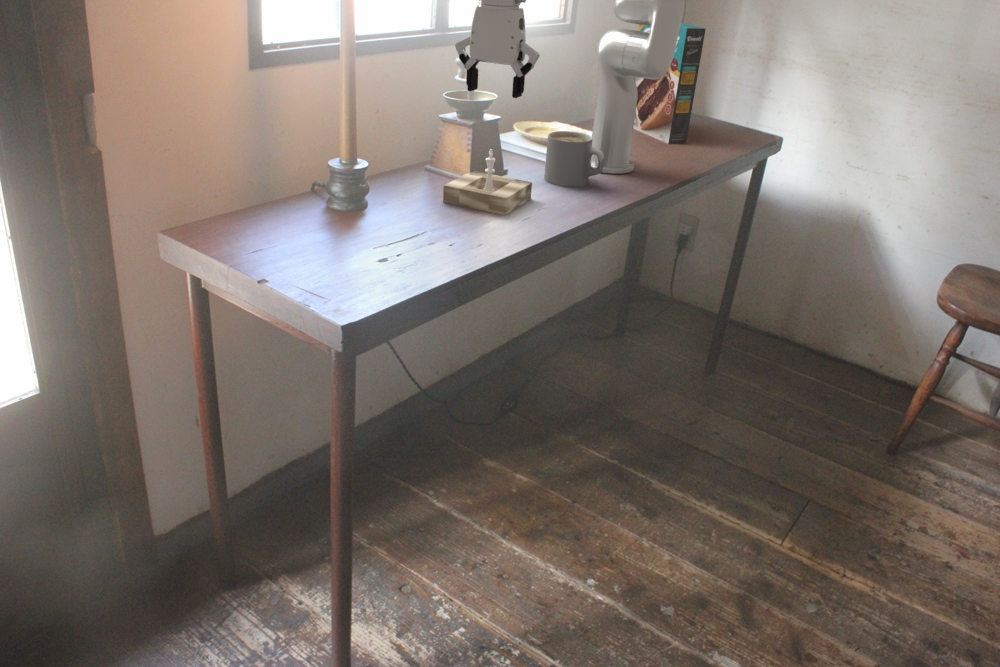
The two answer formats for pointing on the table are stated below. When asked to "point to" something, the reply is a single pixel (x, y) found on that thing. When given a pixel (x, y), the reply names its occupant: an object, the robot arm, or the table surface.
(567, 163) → the coffee mug
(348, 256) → the table surface
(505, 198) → the socket board
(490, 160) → the chess piece
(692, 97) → the cake mix box
